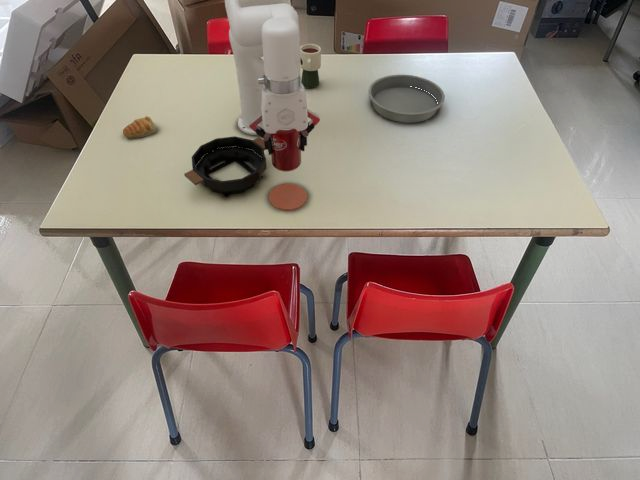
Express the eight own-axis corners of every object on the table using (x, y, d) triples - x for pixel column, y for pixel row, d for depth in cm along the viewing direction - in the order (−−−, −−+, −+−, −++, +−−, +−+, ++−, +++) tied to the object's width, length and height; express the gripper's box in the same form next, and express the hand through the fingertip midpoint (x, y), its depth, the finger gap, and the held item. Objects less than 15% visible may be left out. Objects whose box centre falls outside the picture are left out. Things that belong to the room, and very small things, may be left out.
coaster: (290, 180, 130) (290, 178, 129) (314, 198, 125) (314, 197, 124) (261, 196, 125) (261, 195, 125) (285, 216, 120) (285, 214, 120)
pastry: (129, 143, 140) (125, 132, 137) (120, 132, 143) (116, 122, 140) (159, 132, 144) (156, 121, 141) (149, 122, 147) (146, 111, 145)
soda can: (279, 176, 113) (276, 134, 104) (267, 159, 118) (263, 117, 109) (306, 167, 116) (306, 125, 107) (293, 151, 120) (292, 109, 111)
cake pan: (453, 99, 159) (456, 87, 156) (423, 135, 145) (426, 122, 142) (388, 78, 168) (389, 66, 165) (353, 110, 154) (354, 97, 150)
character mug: (301, 76, 168) (300, 40, 158) (321, 77, 168) (322, 41, 158) (298, 92, 161) (297, 55, 151) (319, 93, 160) (319, 57, 151)
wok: (246, 143, 141) (244, 125, 136) (287, 174, 131) (287, 156, 127) (174, 178, 129) (169, 160, 125) (214, 215, 120) (210, 196, 115)
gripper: (243, 93, 97) (251, 162, 110) (326, 86, 99) (324, 155, 112) (240, 75, 102) (248, 143, 115) (319, 69, 104) (318, 136, 117)
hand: (285, 149), depth 113 cm, fingers closed on soda can, 7 cm apart
